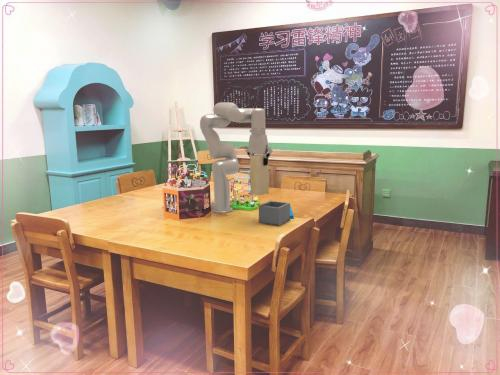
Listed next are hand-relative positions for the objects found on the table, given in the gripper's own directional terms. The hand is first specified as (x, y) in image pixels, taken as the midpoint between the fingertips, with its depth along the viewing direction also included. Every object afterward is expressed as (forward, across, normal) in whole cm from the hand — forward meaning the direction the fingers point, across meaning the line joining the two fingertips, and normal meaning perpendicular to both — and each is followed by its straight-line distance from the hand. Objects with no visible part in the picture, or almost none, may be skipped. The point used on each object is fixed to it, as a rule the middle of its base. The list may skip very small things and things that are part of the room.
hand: (259, 164), depth 224 cm
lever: (+33, +4, +21) cm, 39 cm away
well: (+32, +7, +5) cm, 33 cm away
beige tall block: (+16, 0, 0) cm, 16 cm away
